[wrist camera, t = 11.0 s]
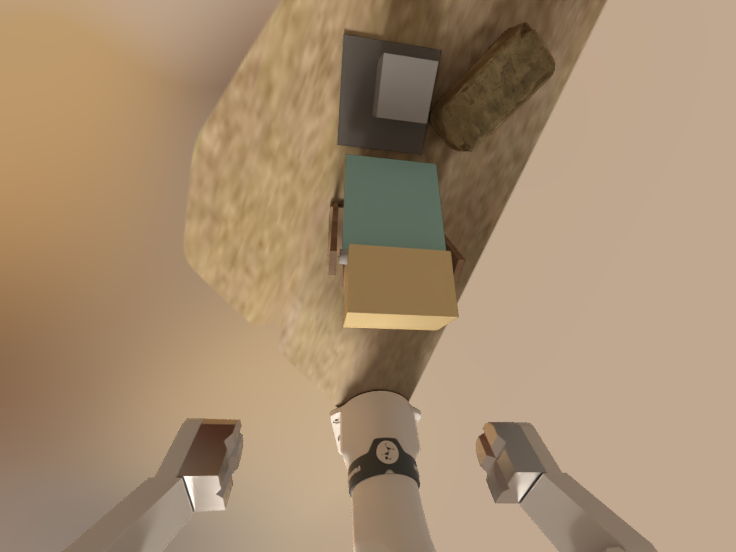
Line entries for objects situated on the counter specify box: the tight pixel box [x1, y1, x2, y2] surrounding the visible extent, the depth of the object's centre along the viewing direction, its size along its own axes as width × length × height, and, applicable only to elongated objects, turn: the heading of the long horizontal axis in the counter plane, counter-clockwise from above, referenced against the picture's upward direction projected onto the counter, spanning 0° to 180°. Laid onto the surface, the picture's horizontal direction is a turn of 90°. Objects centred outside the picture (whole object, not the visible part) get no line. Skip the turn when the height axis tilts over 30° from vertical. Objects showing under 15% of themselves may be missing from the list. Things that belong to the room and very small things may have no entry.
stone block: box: [430, 22, 555, 152], centre depth 31 cm, size 6×12×5 cm, turn 136°
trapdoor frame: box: [328, 202, 465, 286], centre depth 34 cm, size 8×13×14 cm, turn 83°
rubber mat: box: [338, 35, 441, 154], centre depth 32 cm, size 10×10×1 cm
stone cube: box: [372, 53, 439, 124], centre depth 29 cm, size 5×5×5 cm
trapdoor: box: [339, 154, 458, 330], centre depth 29 cm, size 18×10×5 cm
